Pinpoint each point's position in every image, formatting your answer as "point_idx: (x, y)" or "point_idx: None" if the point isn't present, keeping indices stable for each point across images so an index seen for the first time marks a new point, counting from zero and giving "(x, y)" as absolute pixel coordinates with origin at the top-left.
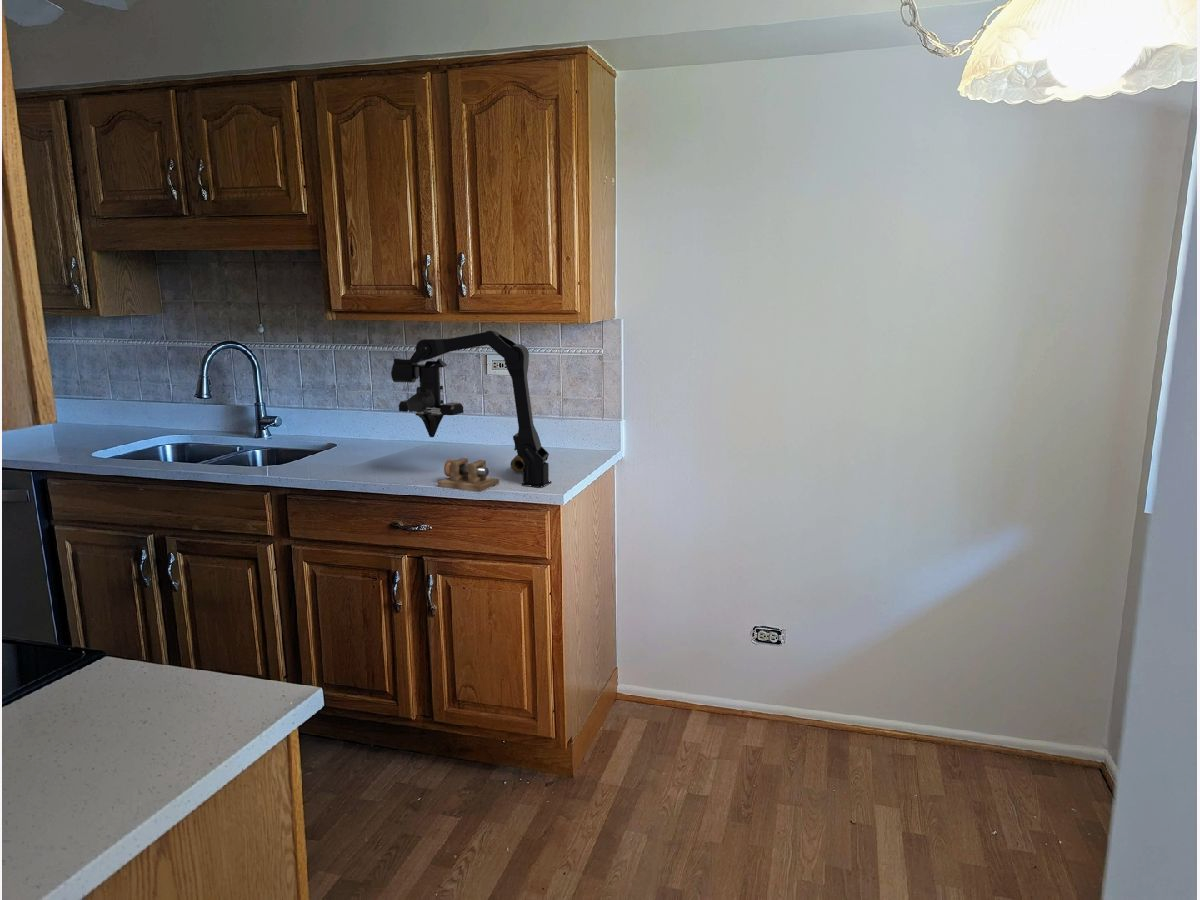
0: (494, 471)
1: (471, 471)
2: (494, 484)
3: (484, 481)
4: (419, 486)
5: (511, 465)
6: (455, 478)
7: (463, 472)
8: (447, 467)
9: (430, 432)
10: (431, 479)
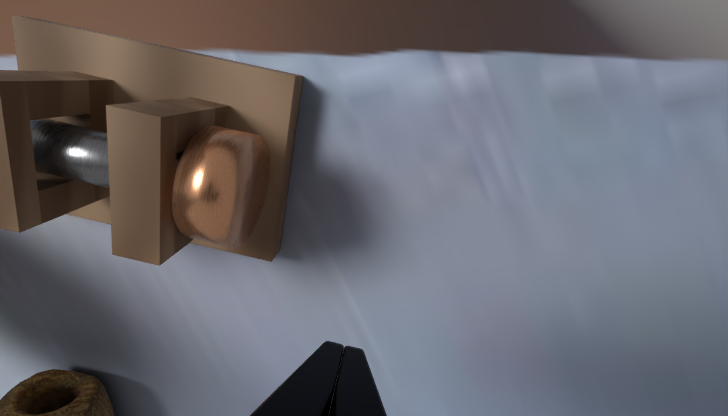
0: (201, 396)
1: (24, 74)
2: None
3: None
4: (408, 59)
5: (86, 397)
6: (186, 98)
7: None
8: (220, 133)
9: (325, 381)
10: (406, 224)
